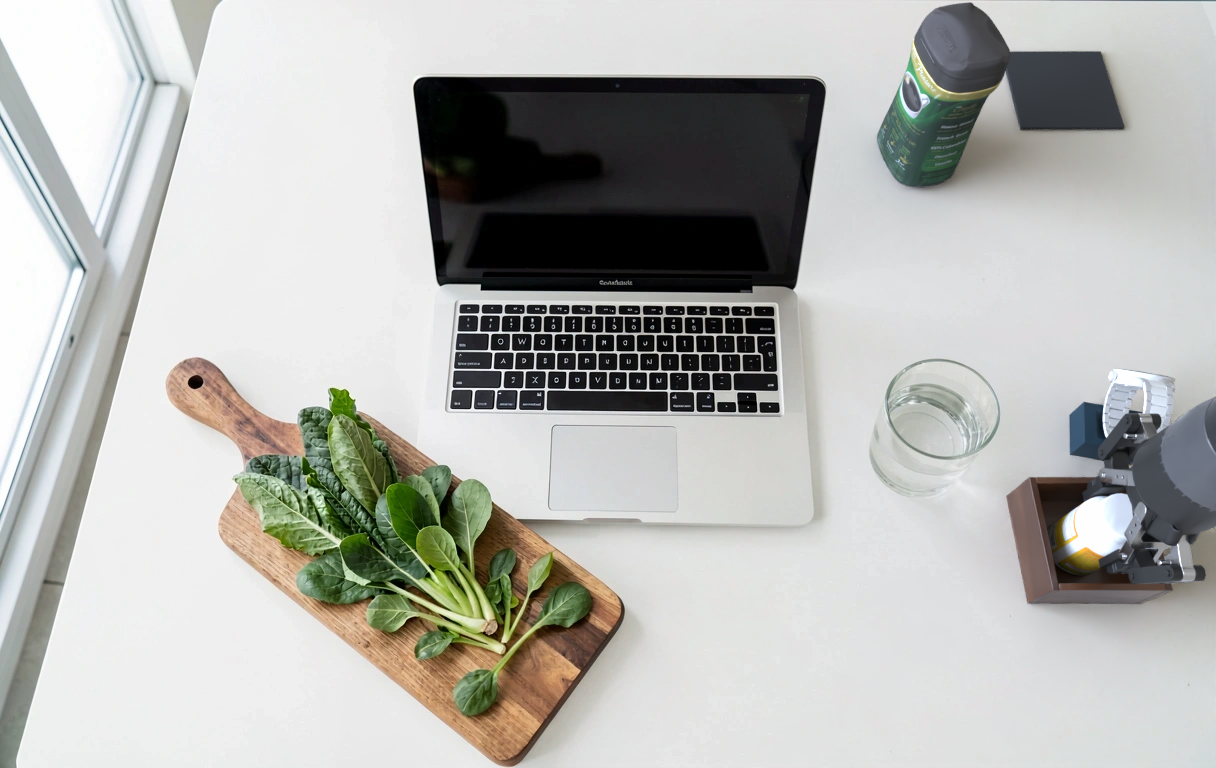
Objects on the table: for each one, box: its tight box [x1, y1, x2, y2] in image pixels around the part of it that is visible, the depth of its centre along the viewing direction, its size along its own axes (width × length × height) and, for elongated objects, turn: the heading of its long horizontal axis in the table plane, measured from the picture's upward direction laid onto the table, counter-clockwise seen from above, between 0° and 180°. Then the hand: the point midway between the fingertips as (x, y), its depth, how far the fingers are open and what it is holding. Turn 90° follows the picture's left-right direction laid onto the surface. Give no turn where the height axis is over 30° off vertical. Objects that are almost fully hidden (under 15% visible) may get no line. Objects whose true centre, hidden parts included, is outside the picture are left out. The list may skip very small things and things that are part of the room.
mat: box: [1005, 50, 1126, 131], centre depth 108 cm, size 12×12×1 cm
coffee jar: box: [876, 1, 1011, 188], centre depth 95 cm, size 10×8×19 cm
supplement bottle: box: [1047, 493, 1133, 575], centre depth 79 cm, size 5×5×10 cm
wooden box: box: [1006, 476, 1174, 605], centre depth 81 cm, size 10×10×5 cm
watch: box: [1068, 368, 1176, 466], centre depth 83 cm, size 6×8×11 cm
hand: (1101, 530), depth 78 cm, fingers closed on supplement bottle, 5 cm apart
